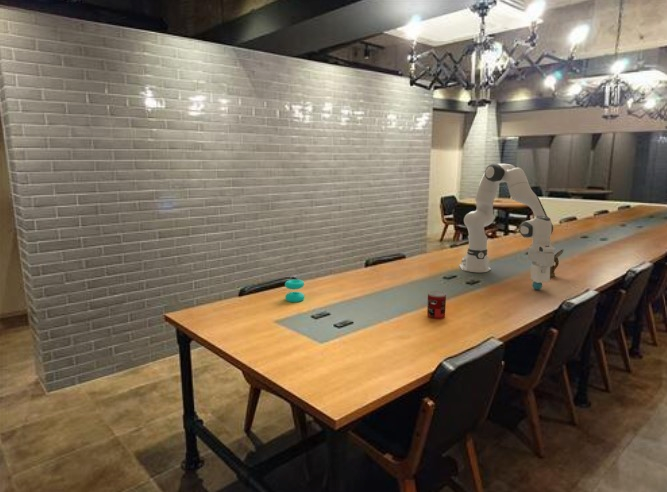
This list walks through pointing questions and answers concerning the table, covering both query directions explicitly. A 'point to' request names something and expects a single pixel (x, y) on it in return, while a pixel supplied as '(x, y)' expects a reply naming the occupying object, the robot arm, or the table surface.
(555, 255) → the wooden mug
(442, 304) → the canned food
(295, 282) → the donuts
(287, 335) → the table surface
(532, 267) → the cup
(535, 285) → the ball
